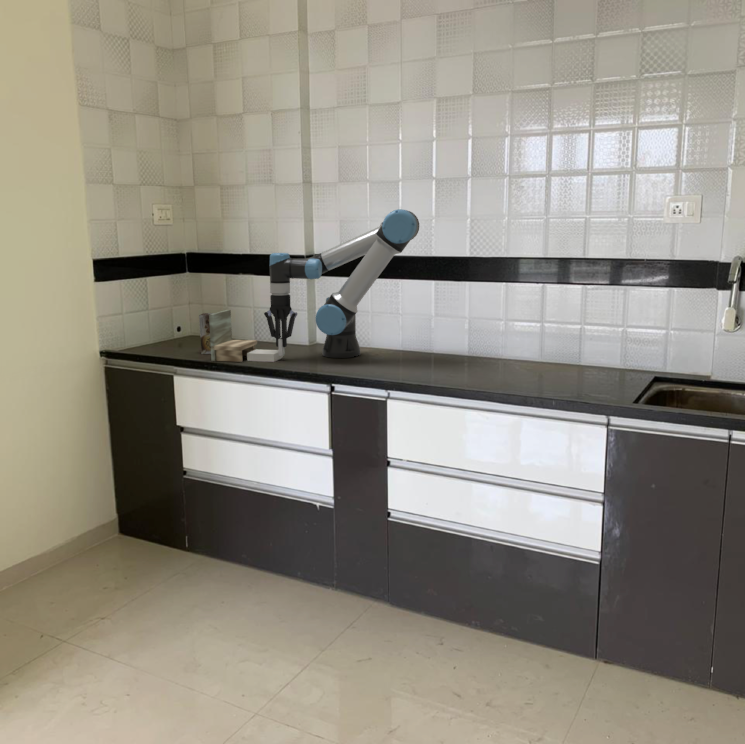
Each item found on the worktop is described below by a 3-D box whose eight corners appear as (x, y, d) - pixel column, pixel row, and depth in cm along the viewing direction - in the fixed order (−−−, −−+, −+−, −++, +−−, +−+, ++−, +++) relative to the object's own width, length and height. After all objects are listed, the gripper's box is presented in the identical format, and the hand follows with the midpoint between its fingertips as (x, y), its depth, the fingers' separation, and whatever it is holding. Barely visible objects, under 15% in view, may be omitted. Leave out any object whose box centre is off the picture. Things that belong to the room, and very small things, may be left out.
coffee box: (227, 351, 306) (225, 312, 302) (222, 354, 299) (220, 314, 296) (205, 351, 306) (203, 312, 303) (200, 354, 300) (198, 314, 297)
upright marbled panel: (257, 355, 296) (255, 310, 293) (241, 362, 281) (238, 315, 277) (229, 354, 299) (227, 309, 296) (211, 361, 284) (208, 314, 280)
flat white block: (282, 357, 290) (282, 350, 289) (274, 361, 281) (273, 354, 281) (256, 356, 293) (256, 349, 292) (247, 360, 284) (246, 353, 283)
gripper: (299, 293, 282) (300, 354, 287) (268, 292, 285) (269, 352, 290) (293, 295, 275) (294, 357, 280) (260, 294, 278) (262, 356, 283)
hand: (281, 355), depth 285 cm, fingers closed
